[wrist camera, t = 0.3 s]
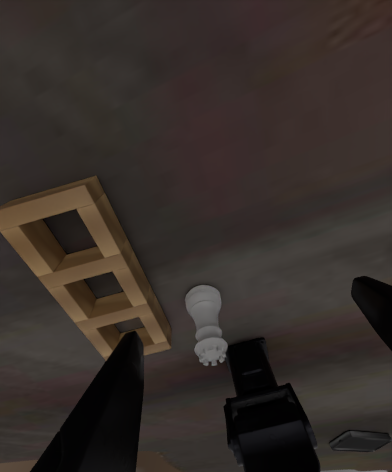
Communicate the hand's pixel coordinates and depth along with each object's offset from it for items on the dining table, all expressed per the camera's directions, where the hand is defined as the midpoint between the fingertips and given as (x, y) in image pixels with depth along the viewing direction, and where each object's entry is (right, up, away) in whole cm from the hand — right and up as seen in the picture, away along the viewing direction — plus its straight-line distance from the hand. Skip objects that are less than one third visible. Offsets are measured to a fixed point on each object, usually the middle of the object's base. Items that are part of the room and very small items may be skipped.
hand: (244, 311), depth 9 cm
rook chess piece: (-1, -4, +19) cm, 19 cm away
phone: (+40, -49, +48) cm, 79 cm away
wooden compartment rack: (-12, -2, +16) cm, 20 cm away
